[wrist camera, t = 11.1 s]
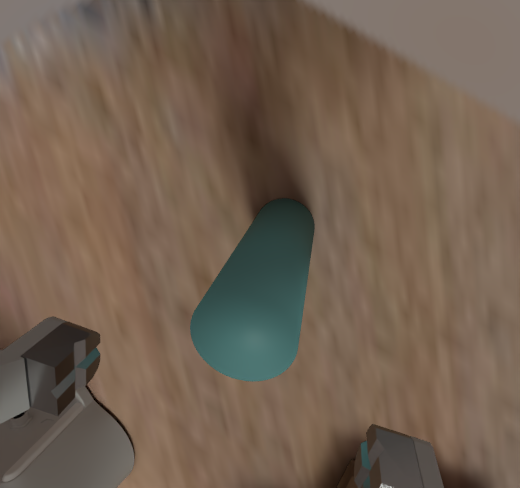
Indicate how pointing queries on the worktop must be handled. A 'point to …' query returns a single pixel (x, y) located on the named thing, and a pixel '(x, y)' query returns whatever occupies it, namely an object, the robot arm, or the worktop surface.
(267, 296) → the dowel
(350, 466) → the socket block
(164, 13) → the worktop surface
